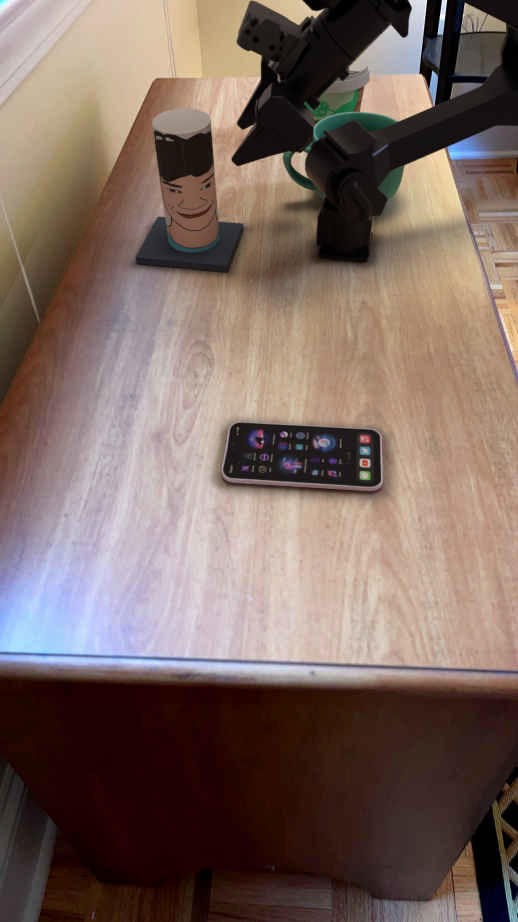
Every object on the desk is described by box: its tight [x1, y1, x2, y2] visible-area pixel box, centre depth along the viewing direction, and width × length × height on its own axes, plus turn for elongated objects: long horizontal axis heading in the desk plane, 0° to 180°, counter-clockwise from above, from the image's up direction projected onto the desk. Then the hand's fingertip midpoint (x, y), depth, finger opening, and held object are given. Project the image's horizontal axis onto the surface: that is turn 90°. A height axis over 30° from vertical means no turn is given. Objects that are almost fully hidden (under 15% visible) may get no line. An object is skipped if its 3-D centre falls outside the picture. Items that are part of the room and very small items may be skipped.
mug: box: [282, 111, 405, 202], centre depth 94 cm, size 17×13×10 cm
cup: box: [151, 108, 220, 253], centre depth 85 cm, size 7×7×15 cm
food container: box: [304, 65, 371, 126], centre depth 107 cm, size 12×6×10 cm, turn 73°
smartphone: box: [221, 421, 384, 492], centre depth 66 cm, size 8×1×15 cm
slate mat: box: [135, 216, 245, 273], centre depth 90 cm, size 12×10×1 cm
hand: (236, 144), depth 80 cm, fingers open, 9 cm apart
